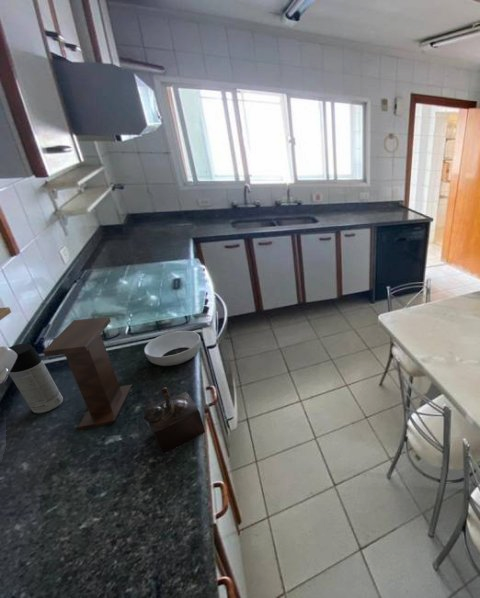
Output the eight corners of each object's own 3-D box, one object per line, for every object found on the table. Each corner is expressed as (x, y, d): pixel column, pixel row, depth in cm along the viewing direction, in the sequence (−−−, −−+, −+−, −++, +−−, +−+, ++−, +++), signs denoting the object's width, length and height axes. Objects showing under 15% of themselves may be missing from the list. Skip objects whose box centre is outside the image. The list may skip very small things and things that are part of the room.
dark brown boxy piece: (150, 435, 90) (127, 384, 82) (194, 414, 97) (178, 365, 89) (166, 472, 80) (143, 419, 72) (214, 445, 87) (198, 394, 79)
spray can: (59, 394, 100) (28, 339, 92) (68, 403, 97) (37, 347, 88) (29, 407, 95) (-7, 351, 86) (37, 417, 92) (1, 360, 83)
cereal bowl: (149, 379, 110) (143, 362, 107) (150, 353, 123) (144, 338, 119) (206, 363, 119) (202, 347, 116) (202, 341, 131) (197, 325, 128)
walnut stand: (79, 431, 89) (42, 351, 78) (102, 393, 103) (73, 320, 92) (115, 424, 92) (85, 346, 81) (133, 388, 105) (109, 316, 95)
